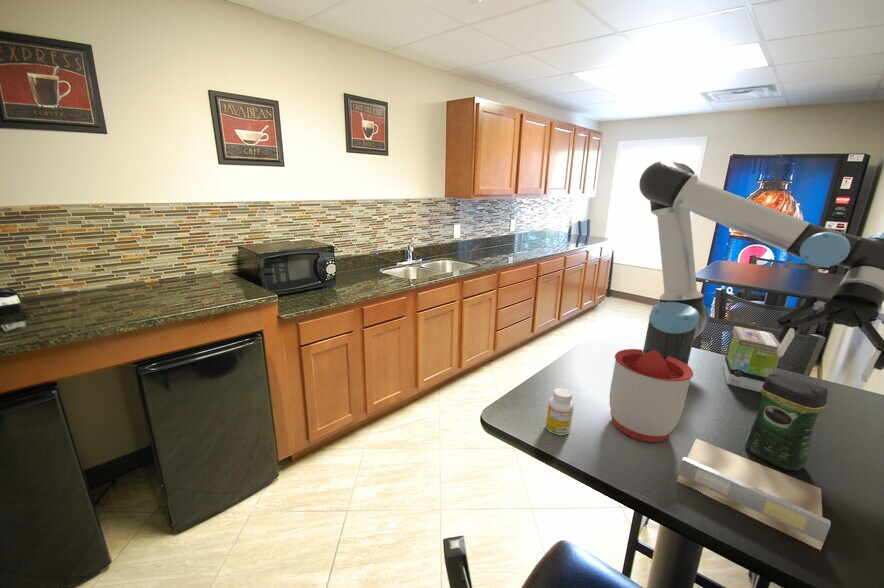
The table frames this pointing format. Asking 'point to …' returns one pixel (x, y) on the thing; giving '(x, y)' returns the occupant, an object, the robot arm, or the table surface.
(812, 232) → the robot arm
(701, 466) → the rail
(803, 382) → the coffee jar
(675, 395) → the citrus juicer
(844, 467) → the table surface
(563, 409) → the supplement bottle
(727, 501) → the shelf board
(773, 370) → the tea box
